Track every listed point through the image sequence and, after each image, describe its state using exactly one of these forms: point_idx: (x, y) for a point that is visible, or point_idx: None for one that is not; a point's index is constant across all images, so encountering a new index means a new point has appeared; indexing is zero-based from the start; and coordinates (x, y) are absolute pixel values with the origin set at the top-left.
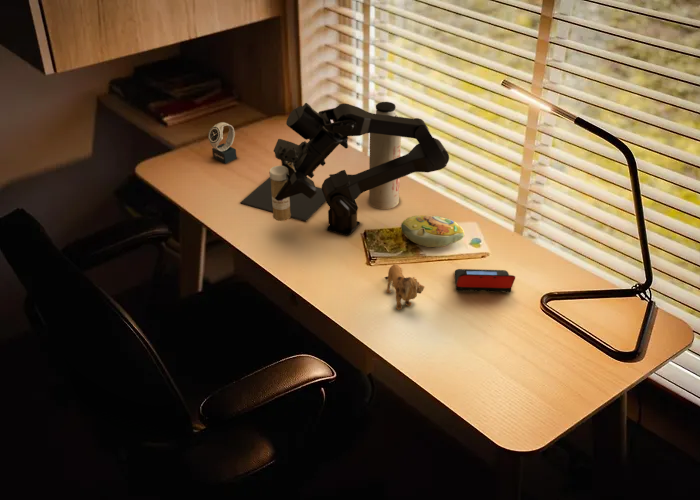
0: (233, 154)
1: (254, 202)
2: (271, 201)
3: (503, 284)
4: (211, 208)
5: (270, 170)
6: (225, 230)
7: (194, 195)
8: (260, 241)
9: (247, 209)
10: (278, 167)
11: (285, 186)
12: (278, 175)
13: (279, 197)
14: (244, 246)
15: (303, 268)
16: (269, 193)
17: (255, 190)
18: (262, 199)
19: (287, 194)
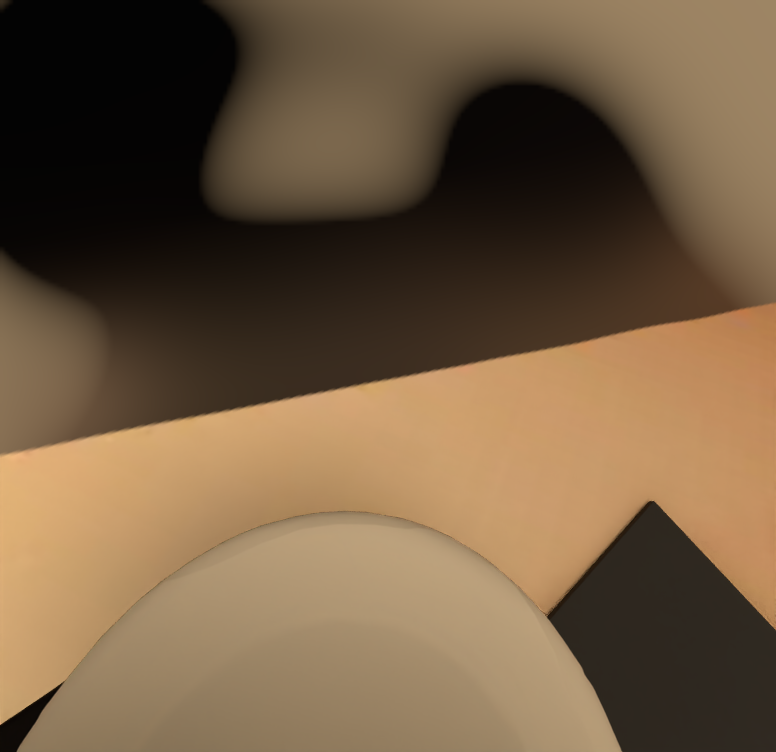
0: None
1: (642, 560)
2: (638, 650)
3: None
4: (631, 389)
5: (417, 551)
6: (475, 381)
7: (724, 369)
8: (346, 469)
9: (598, 511)
10: None
11: (2, 735)
12: (56, 702)
13: None
14: (345, 401)
15: (33, 567)
16: (716, 672)
17: (748, 607)
18: (663, 610)
19: None
